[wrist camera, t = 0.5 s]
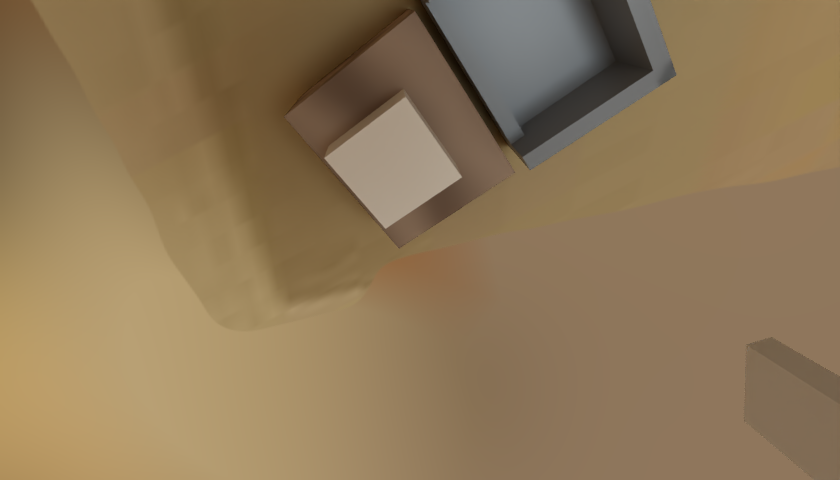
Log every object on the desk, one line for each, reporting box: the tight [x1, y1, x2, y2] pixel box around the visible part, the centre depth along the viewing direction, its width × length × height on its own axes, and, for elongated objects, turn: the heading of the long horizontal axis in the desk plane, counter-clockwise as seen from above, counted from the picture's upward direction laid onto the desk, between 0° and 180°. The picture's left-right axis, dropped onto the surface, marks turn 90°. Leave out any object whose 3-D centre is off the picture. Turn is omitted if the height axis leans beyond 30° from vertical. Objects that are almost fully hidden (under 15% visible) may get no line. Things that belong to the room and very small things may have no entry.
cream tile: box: [324, 89, 462, 229], centre depth 27 cm, size 6×6×2 cm
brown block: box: [284, 9, 515, 248], centre depth 31 cm, size 10×12×7 cm
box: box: [420, 0, 676, 170], centre depth 28 cm, size 11×14×6 cm
